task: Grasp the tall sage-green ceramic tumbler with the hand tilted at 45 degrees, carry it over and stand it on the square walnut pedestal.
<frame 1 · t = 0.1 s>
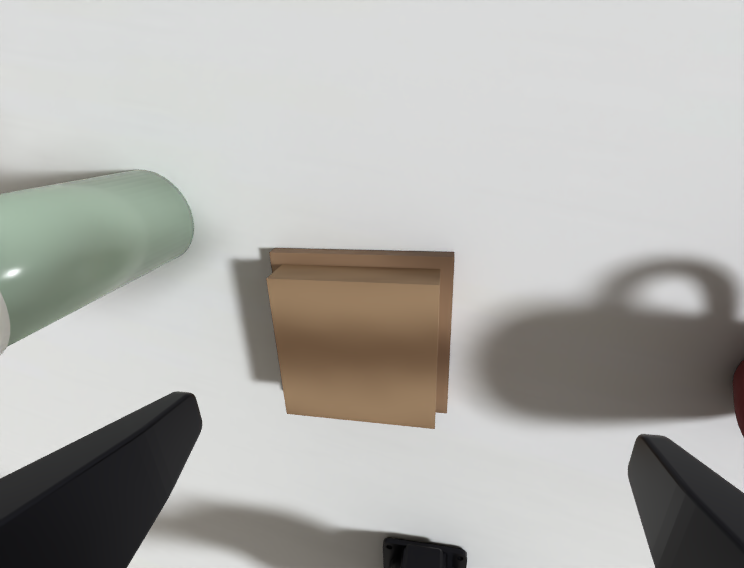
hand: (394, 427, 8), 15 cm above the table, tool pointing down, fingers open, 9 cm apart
pedestal: (364, 330, 24), on the table
tumbler: (151, 217, 24), on the table
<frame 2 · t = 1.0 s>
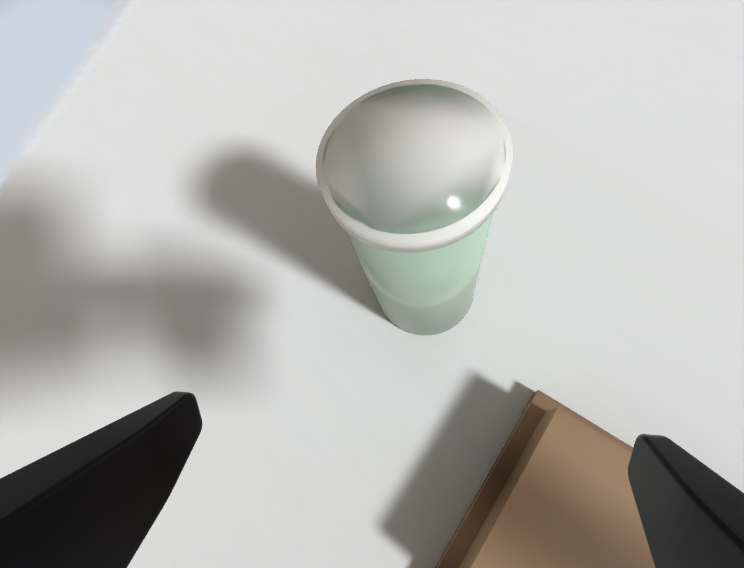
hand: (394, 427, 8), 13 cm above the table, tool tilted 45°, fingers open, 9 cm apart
pedestal: (589, 560, 17), on the table
tumbler: (424, 288, 23), on the table
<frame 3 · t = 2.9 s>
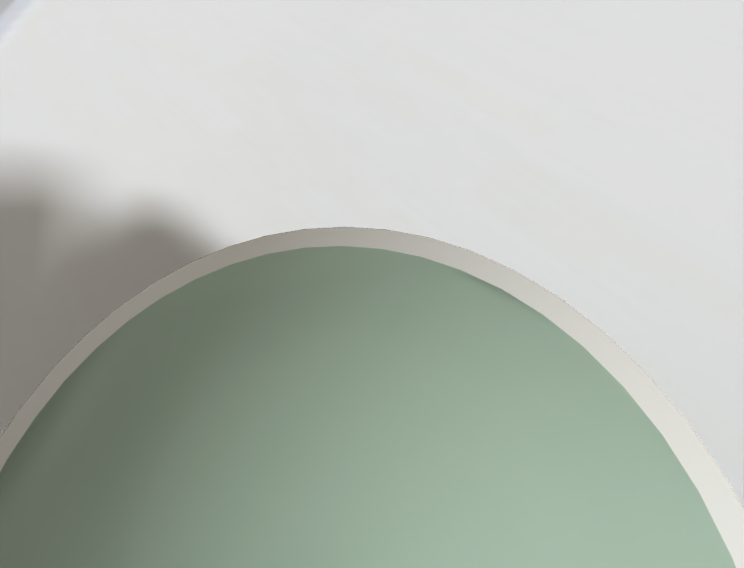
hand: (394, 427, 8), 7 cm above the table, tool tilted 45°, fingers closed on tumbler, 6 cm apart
tumbler: (411, 475, 14), on the table, touching gripper
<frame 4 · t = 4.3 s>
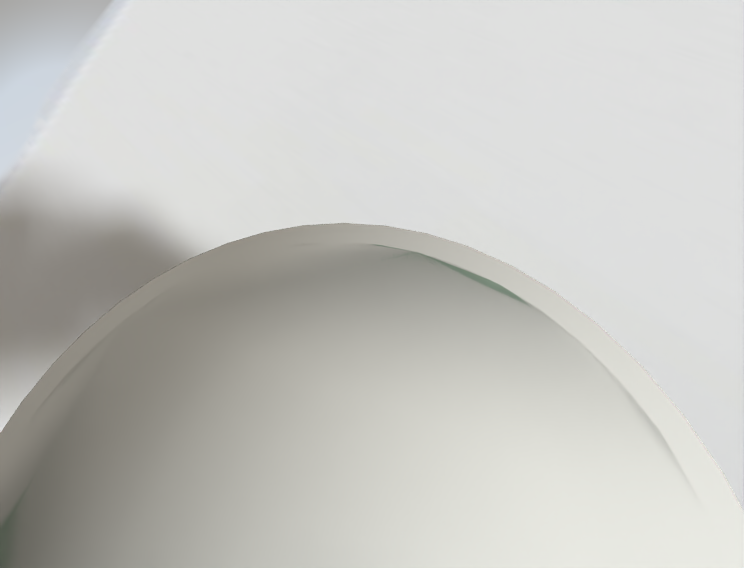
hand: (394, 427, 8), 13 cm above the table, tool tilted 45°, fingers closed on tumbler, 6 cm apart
tumbler: (410, 474, 14), point 7 cm above the table, touching gripper
when the fingers open (11 cm above the table, at t = 6.1 s): tumbler drops 1 cm, resting on pedestal.
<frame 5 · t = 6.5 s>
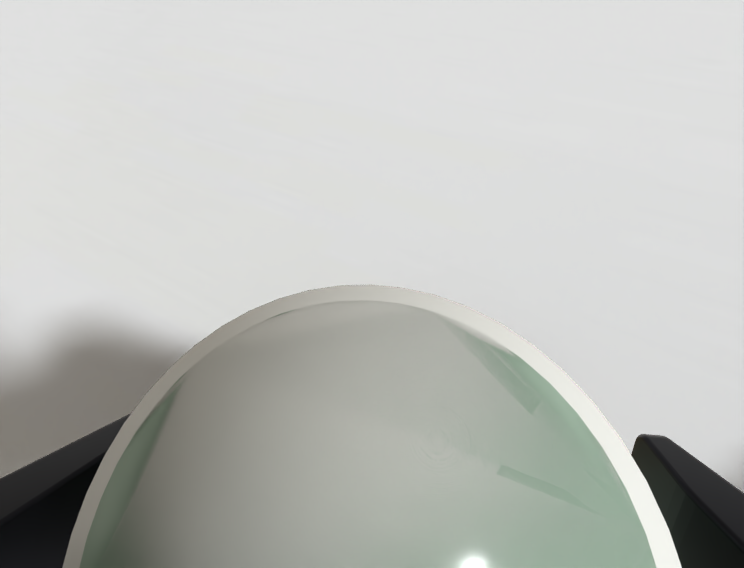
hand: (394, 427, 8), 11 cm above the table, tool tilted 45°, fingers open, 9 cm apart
tumbler: (413, 475, 15), point 3 cm above the table, touching pedestal
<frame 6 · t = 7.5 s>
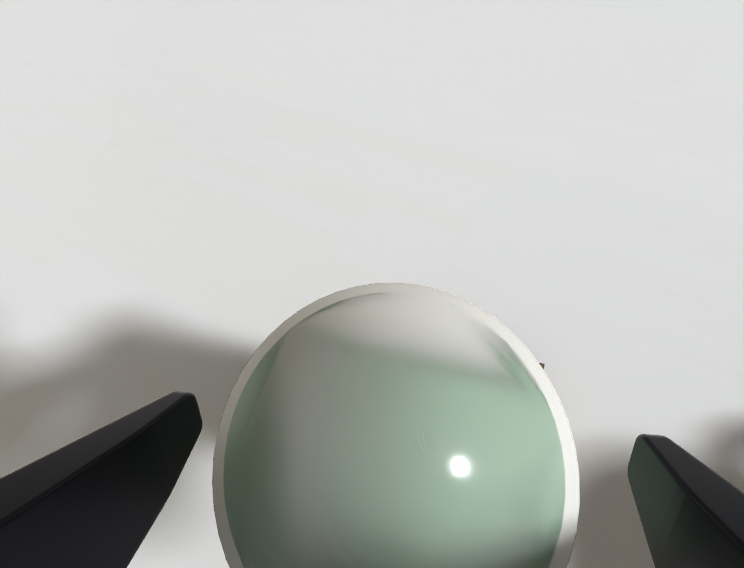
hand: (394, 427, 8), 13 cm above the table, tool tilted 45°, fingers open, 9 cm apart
tumbler: (418, 442, 18), point 3 cm above the table, touching pedestal
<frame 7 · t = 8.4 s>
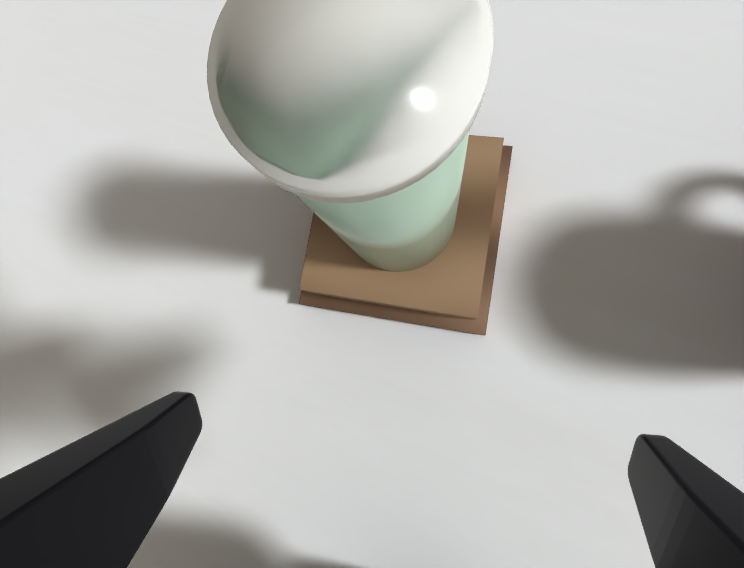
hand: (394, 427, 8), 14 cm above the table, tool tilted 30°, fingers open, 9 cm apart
pedestal: (404, 230, 23), on the table
tumbler: (399, 216, 20), point 3 cm above the table, touching pedestal
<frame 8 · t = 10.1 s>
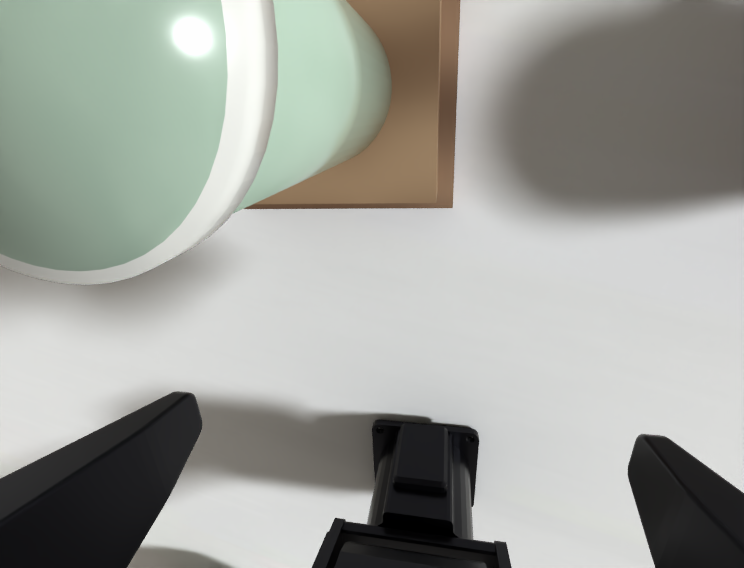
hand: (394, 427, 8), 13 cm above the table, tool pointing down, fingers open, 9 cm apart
pedestal: (339, 89, 18), on the table
tumbler: (319, 88, 15), point 3 cm above the table, touching pedestal
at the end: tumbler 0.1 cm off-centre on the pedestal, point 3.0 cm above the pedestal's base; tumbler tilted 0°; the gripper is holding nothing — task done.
